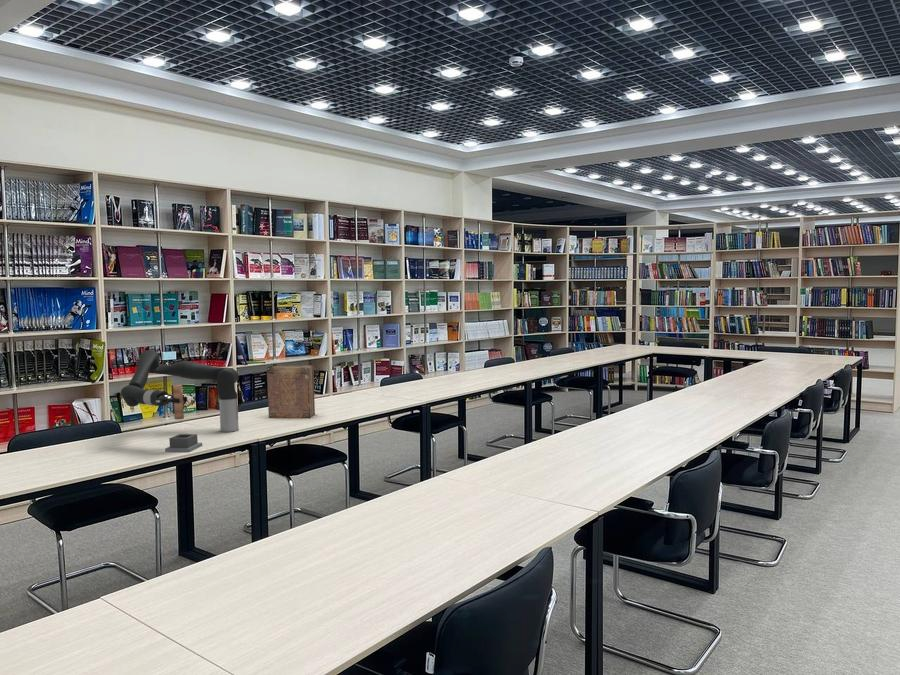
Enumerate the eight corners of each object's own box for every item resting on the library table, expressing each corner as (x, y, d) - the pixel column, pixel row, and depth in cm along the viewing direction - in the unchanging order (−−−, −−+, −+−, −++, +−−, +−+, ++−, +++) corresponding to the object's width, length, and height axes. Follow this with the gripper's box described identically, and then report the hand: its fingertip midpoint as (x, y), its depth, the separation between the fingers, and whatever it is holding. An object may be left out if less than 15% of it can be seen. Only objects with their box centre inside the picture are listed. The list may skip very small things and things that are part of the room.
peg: (177, 417, 303) (175, 384, 302) (185, 417, 303) (183, 384, 302) (173, 419, 299) (171, 385, 298) (181, 419, 299) (179, 385, 298)
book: (315, 415, 381) (313, 365, 378) (309, 418, 371) (308, 367, 369) (274, 414, 384) (273, 365, 382) (268, 417, 375) (266, 367, 373)
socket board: (178, 445, 309) (178, 433, 309) (202, 445, 308) (201, 433, 308) (165, 451, 298) (164, 439, 297) (189, 452, 296) (189, 439, 296)
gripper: (168, 402, 313) (194, 405, 306) (144, 408, 300) (171, 410, 293) (167, 387, 312) (194, 389, 306) (143, 392, 299) (170, 394, 292)
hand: (182, 400), depth 299 cm, fingers closed on peg, 4 cm apart
